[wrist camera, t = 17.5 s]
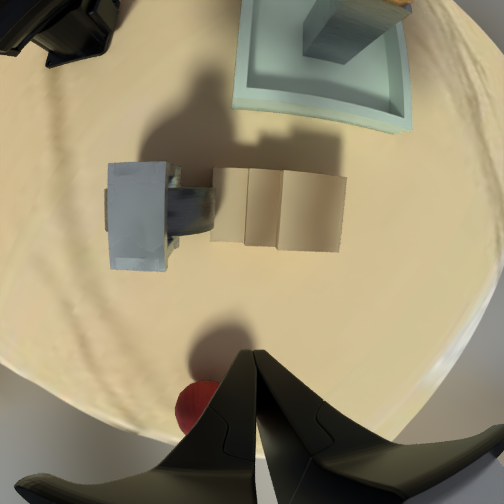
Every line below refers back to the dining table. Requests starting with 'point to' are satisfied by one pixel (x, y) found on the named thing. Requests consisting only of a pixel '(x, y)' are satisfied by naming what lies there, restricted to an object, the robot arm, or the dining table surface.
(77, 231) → the dining table surface
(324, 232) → the block
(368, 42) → the pin
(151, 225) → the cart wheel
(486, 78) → the dining table surface
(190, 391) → the onion
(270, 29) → the tray
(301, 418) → the robot arm
